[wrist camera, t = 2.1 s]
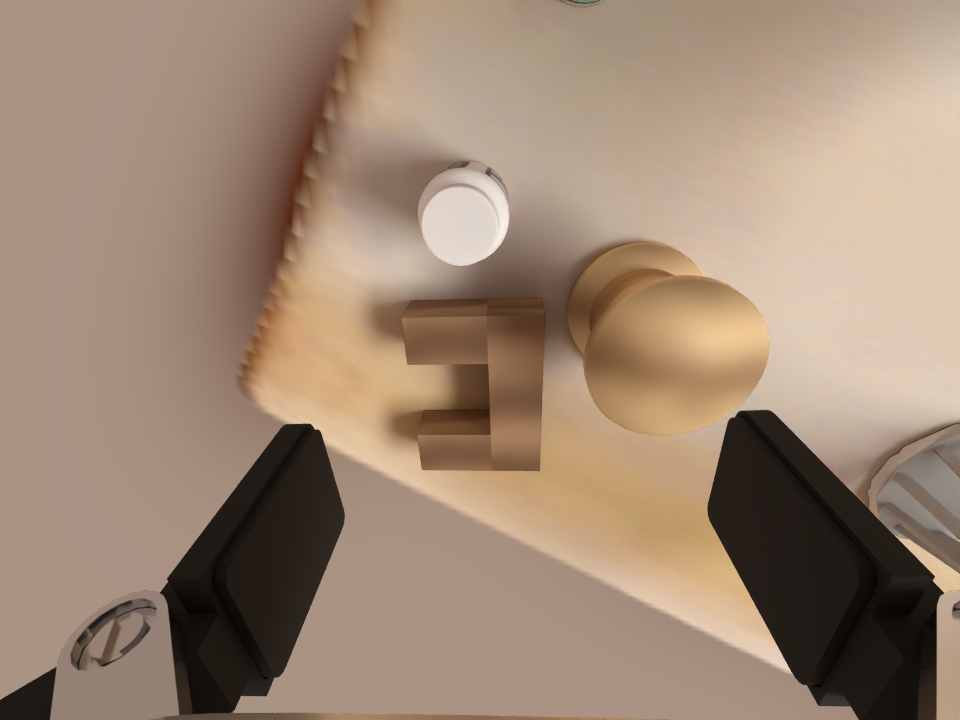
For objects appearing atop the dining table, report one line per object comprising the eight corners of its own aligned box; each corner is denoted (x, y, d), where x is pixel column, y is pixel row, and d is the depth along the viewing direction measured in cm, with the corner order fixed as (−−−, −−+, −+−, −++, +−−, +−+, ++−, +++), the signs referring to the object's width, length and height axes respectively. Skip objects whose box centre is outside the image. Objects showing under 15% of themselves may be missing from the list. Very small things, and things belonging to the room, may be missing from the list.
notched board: (410, 300, 33) (401, 317, 30) (541, 298, 32) (544, 315, 29) (428, 443, 40) (421, 470, 36) (537, 444, 39) (539, 471, 36)
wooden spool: (570, 243, 30) (593, 282, 22) (716, 239, 30) (792, 278, 22) (563, 367, 35) (580, 435, 27) (689, 365, 34) (744, 435, 26)
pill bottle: (425, 229, 31) (397, 263, 23) (441, 151, 28) (415, 157, 20) (497, 249, 31) (494, 289, 23) (518, 173, 28) (523, 189, 21)
